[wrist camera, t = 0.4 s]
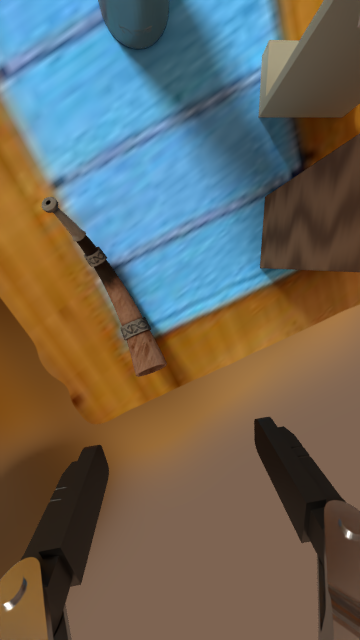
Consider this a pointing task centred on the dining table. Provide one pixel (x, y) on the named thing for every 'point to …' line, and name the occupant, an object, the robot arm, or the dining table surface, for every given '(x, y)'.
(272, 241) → the cabinet
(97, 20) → the dining table surface
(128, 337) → the drinking horn
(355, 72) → the white angled bracket
